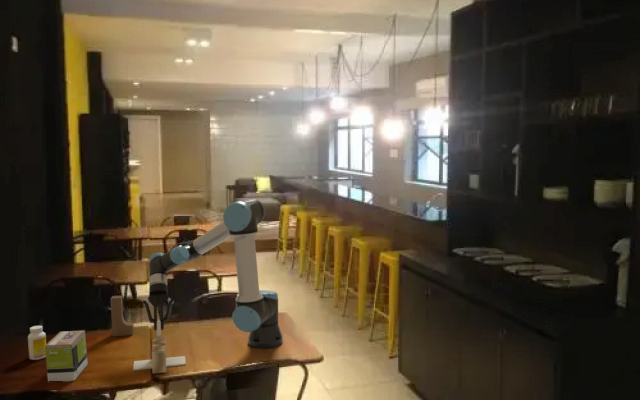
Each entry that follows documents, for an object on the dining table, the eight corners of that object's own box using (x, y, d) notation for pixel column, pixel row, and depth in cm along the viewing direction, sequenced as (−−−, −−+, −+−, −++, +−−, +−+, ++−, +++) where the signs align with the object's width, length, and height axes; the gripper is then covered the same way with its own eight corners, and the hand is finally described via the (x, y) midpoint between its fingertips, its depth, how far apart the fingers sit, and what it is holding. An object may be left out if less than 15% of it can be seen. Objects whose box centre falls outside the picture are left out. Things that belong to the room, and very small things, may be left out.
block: (165, 337, 225) (165, 352, 210) (166, 356, 226) (166, 372, 211) (152, 338, 224) (151, 353, 209) (153, 357, 225) (152, 373, 210)
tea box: (62, 366, 219) (60, 330, 217) (88, 365, 219) (86, 329, 218) (46, 382, 204) (44, 344, 202) (74, 381, 205) (72, 343, 203)
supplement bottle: (50, 355, 230) (48, 325, 228) (38, 361, 224) (36, 330, 222) (38, 353, 232) (36, 324, 231) (25, 359, 226) (23, 329, 224)
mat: (185, 357, 227) (185, 355, 227) (185, 364, 219) (185, 363, 219) (134, 362, 222) (134, 361, 222) (133, 370, 214) (132, 369, 214)
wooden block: (134, 332, 258) (132, 294, 256) (132, 335, 253) (131, 297, 251) (113, 333, 256) (112, 295, 254) (112, 336, 251) (110, 298, 249)
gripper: (174, 289, 241) (175, 339, 227) (143, 292, 238) (142, 342, 223) (173, 280, 235) (175, 331, 221) (142, 283, 232) (141, 334, 218)
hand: (159, 337), depth 222 cm, fingers closed
